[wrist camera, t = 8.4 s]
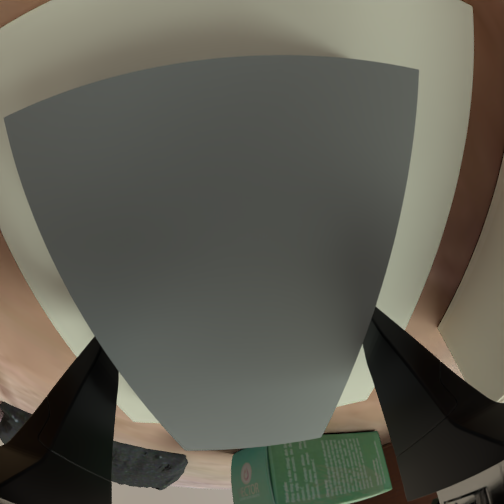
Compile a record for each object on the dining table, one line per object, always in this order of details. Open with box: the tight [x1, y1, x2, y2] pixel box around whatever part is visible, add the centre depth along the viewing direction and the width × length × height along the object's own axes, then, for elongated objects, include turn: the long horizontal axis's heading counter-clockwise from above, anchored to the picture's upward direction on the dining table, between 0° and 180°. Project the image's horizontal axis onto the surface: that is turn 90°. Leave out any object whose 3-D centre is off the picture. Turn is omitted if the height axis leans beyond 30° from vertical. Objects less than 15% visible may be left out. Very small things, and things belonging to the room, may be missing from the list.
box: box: [231, 431, 392, 504], centre depth 21 cm, size 7×14×8 cm, turn 64°
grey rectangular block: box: [4, 55, 419, 451], centre depth 9 cm, size 7×16×3 cm, turn 3°
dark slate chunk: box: [0, 402, 188, 490], centre depth 22 cm, size 15×22×5 cm
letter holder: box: [350, 442, 438, 504], centre depth 28 cm, size 10×20×14 cm, turn 113°
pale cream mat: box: [0, 0, 474, 423], centre depth 11 cm, size 16×22×1 cm
